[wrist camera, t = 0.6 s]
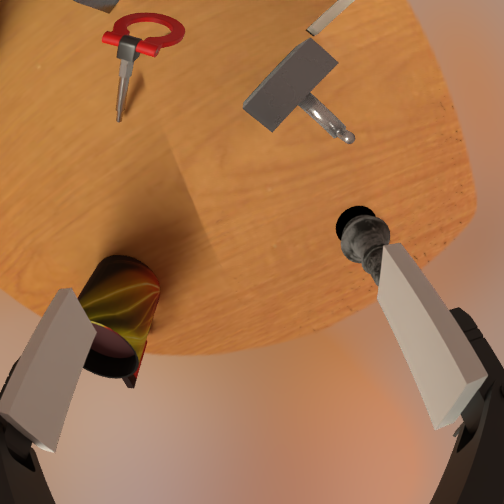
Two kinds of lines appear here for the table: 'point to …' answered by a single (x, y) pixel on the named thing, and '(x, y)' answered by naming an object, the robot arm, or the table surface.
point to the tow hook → (138, 47)
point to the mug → (119, 316)
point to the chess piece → (363, 238)
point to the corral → (328, 16)
